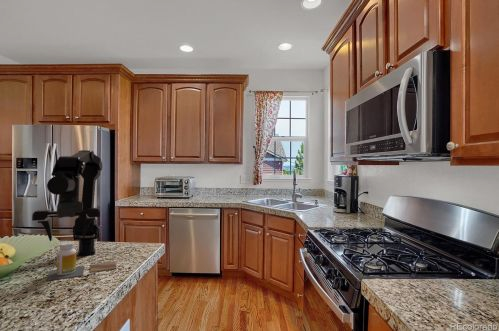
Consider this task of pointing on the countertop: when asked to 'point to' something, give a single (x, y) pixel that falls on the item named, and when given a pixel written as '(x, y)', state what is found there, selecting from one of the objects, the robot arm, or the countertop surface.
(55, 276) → the mat
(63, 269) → the supplement bottle
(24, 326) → the countertop surface
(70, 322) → the countertop surface
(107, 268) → the walnut coaster
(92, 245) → the robot arm
